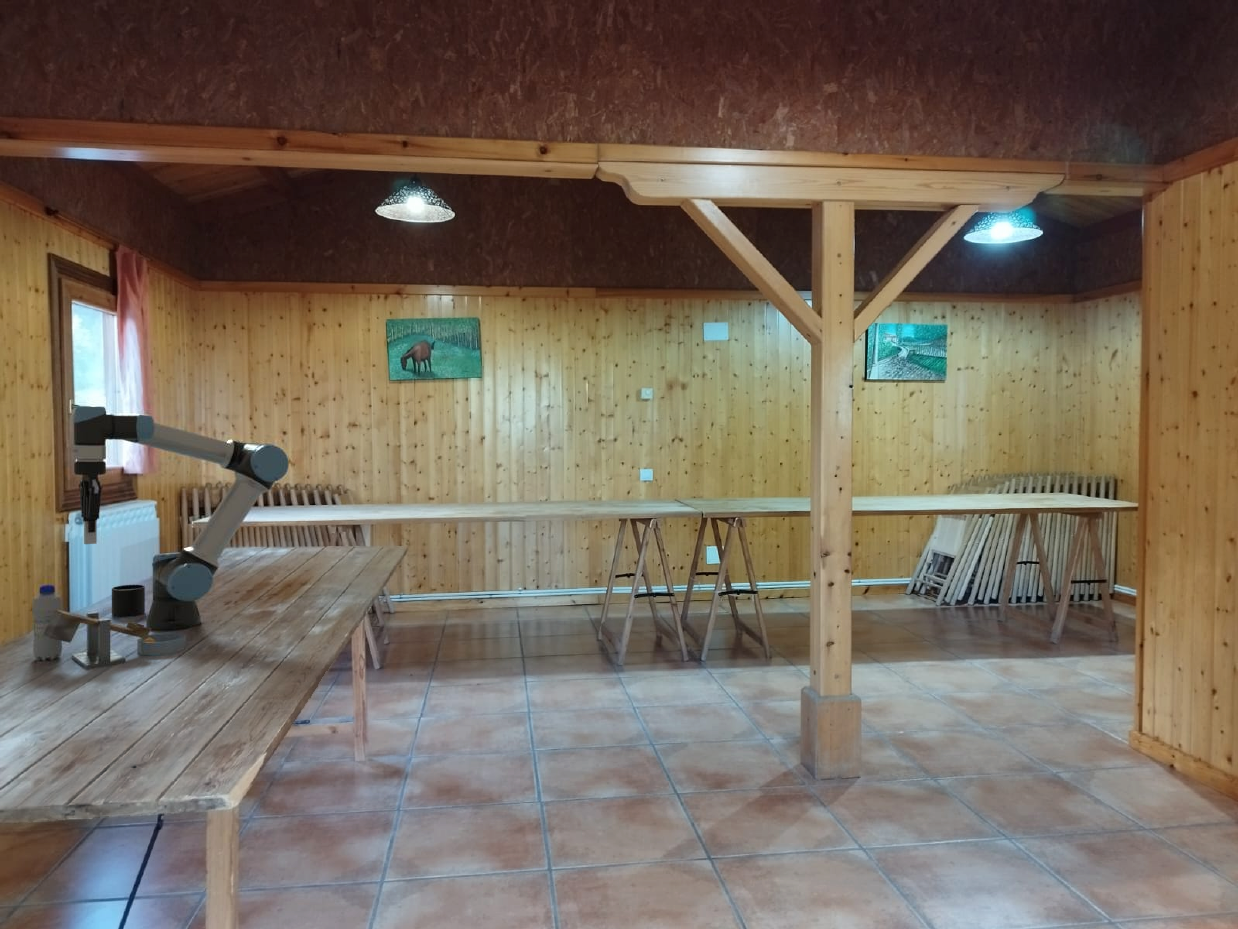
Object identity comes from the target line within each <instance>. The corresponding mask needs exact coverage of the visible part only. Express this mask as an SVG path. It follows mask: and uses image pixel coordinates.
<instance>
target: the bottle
mask: <svg viewBox="0 0 1238 929" xmlns="http://www.w3.org/2000/svg"><path fill="white" fill-rule="evenodd" d="M38 591H39V595H38V596H35V597H34V598H33V602H32V603H33V604H32V609H31V611H32V616H33V646H32V647H33V649H32V650H33V656H34V658H35V660H36V661H42V662H43V661H44V662H45V661H47V658H48V657H49V659H50V661H52V660H54V659H58V658H60V657H61V656H62V655H61V654H62V651H63V644H62V642H63V641H61V640H56V639H52V638H49V637H48V636H46V635H45V634H44V632H45V630H46V628H47V626H48V624H49V622H50V620H51V618H52V616H53V614H54V612H55V610H56V609H58V610H62V611H63V603H62V602H63V601H62V597H61V595H58V594H57V593H55V592H56V588H55V586H54V585H53V584H45V585H41V586H40V587H39V590H38Z"/></svg>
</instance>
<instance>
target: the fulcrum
mask: <svg viewBox="0 0 1238 929" xmlns="http://www.w3.org/2000/svg"><path fill="white" fill-rule="evenodd" d="M99 615H100V614H99V611H91V612H86V617H89V618H97V619H98V627H96V626H92V625H88V624H86V652H78V653H72V654H71V659H72V660H73V661H74V662H76V663H78V664H79V665H80V666H81V667H83V669H85V670H90V669H96V668H102V667H103V668H104V667H107V666H108V667H109V666H114V665H120V664H125V663H126V660H127V659H126V658H125V657H123V656H122V655H121V654H119V653H117V652H116V651H114V650H113V649H111V630H110V623H111V619H110V618H102V619H99Z"/></svg>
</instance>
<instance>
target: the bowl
mask: <svg viewBox="0 0 1238 929" xmlns="http://www.w3.org/2000/svg"><path fill="white" fill-rule="evenodd" d="M148 638H152V639H154V640H155V642H144V640H146V639H144V638H140V637H138V639H137V643H136V644H137V653H138V654H139V655H141V656H142V655H143V656H163V655H164V656H165V655H170V654H175V653H178V652H181V651H184V649H185V648H186V634H184V633H181V632H174V631H170V632H158V633H152V634H150V633H149V635H148V637H147V639H148Z"/></svg>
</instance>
